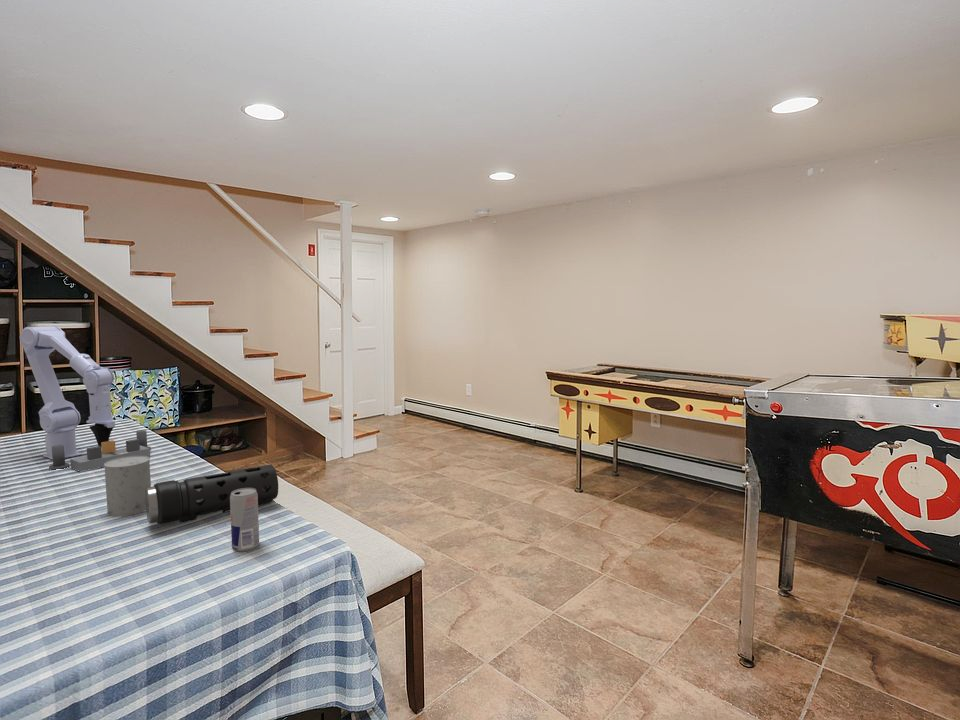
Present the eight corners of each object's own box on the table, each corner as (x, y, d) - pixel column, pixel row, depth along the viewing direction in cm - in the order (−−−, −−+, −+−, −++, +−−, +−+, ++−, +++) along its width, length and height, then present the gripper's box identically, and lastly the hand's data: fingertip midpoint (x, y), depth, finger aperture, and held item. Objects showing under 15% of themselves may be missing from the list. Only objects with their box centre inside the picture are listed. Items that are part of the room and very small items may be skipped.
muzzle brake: (279, 507, 134) (278, 468, 133) (151, 536, 117) (148, 491, 116) (268, 497, 142) (267, 459, 141) (146, 522, 124) (143, 480, 123)
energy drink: (237, 541, 115) (235, 487, 113) (262, 540, 115) (260, 487, 114) (227, 552, 109) (225, 496, 108) (254, 551, 110) (252, 495, 109)
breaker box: (71, 468, 164) (69, 448, 164) (140, 453, 181) (139, 435, 180) (80, 472, 161) (78, 451, 160) (150, 457, 177) (149, 438, 177)
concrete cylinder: (103, 518, 126) (100, 469, 125) (110, 505, 134) (107, 458, 133) (150, 512, 130) (148, 463, 129) (154, 499, 139) (151, 454, 138)
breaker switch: (101, 452, 171) (101, 442, 170) (113, 450, 173) (112, 440, 173) (104, 453, 170) (103, 443, 169) (115, 451, 172) (115, 441, 172)
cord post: (131, 451, 184) (130, 432, 183) (146, 448, 188) (145, 429, 187) (138, 453, 181) (136, 434, 180) (153, 450, 185) (152, 431, 184)
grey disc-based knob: (46, 469, 164) (44, 447, 163) (65, 465, 168) (64, 443, 167) (52, 471, 161) (51, 449, 160) (72, 467, 165) (70, 446, 164)
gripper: (76, 405, 173) (79, 445, 174) (95, 410, 165) (98, 452, 166) (101, 402, 179) (103, 441, 180) (121, 406, 171) (123, 447, 172)
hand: (103, 446), depth 174 cm, fingers closed
